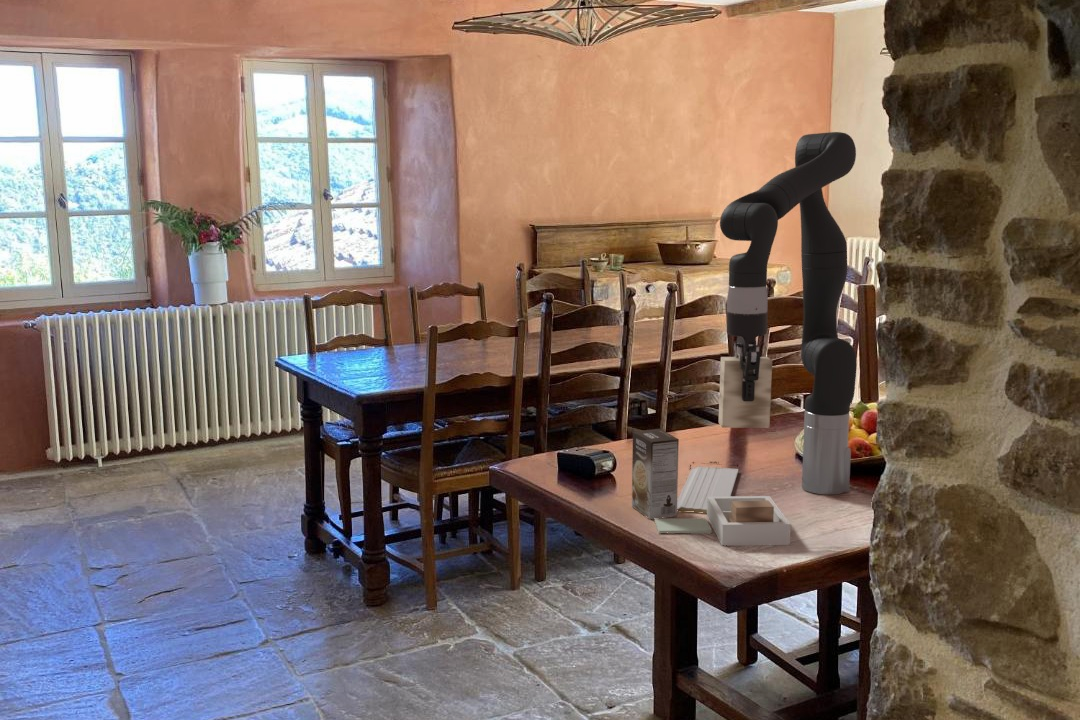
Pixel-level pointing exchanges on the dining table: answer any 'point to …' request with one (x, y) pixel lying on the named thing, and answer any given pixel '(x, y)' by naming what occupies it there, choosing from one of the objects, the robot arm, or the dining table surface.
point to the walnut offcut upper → (752, 511)
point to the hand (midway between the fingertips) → (745, 397)
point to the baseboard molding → (705, 487)
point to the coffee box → (655, 473)
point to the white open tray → (746, 524)
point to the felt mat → (683, 525)
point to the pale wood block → (730, 397)
